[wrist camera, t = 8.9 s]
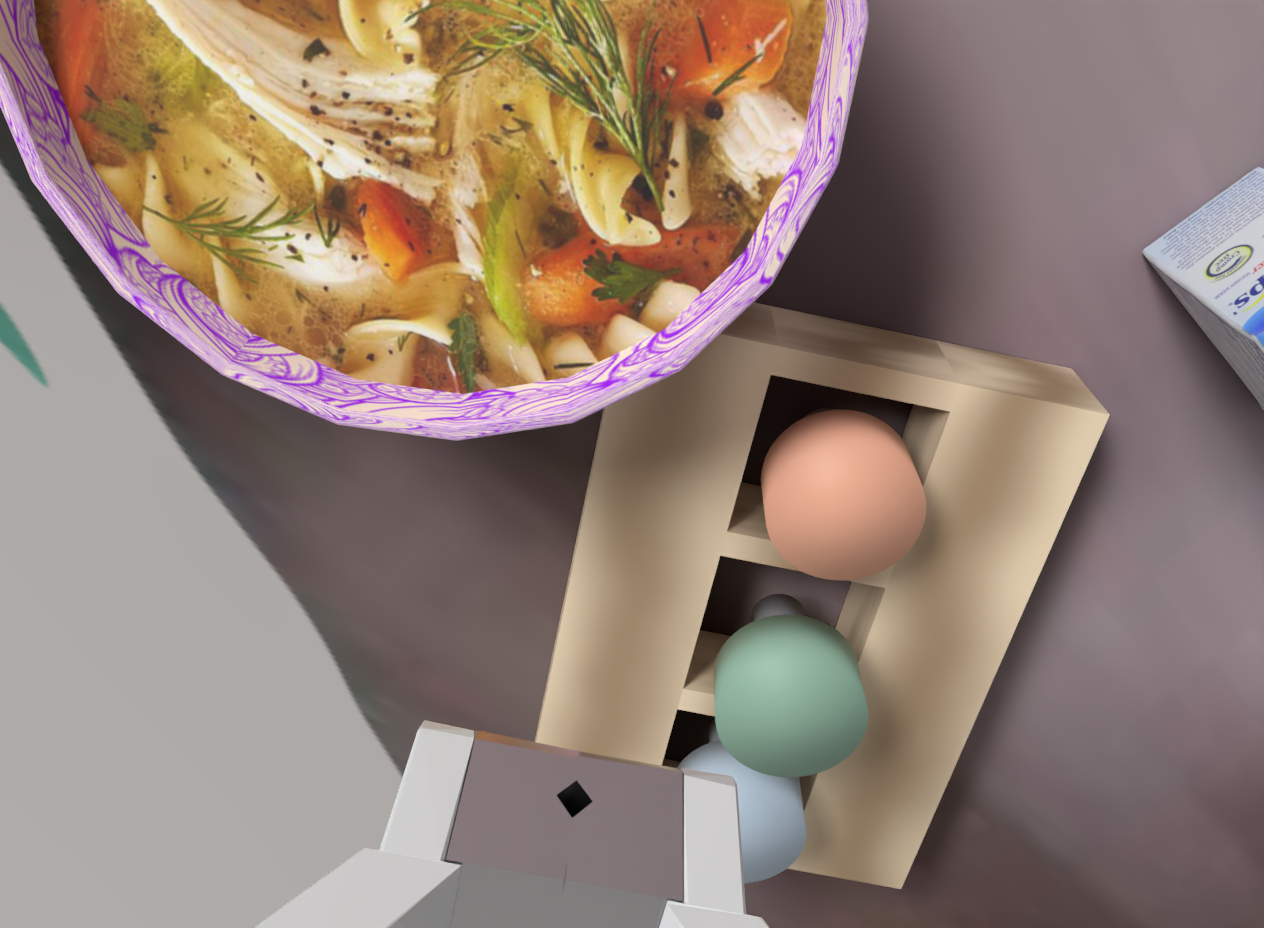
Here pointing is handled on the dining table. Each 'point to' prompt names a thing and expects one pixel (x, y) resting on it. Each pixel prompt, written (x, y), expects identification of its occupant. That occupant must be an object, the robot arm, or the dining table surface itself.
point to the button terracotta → (841, 495)
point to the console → (736, 527)
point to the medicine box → (1222, 274)
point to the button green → (788, 692)
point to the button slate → (758, 810)
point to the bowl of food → (435, 185)
